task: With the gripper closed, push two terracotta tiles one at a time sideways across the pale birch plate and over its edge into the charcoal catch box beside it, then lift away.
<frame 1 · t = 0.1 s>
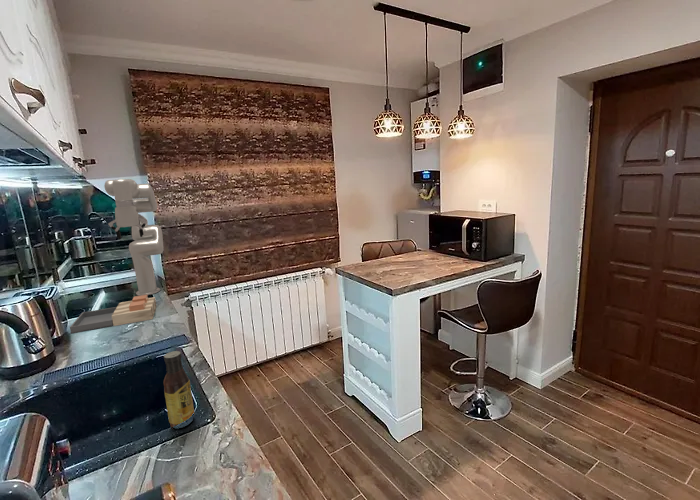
hand: (130, 237, 186), 37 cm above the worktop, tool pointing down, fingers open, 9 cm apart
tile a: (140, 302, 183), point 5 cm above the worktop, touching bench plate
catch box: (97, 322, 173), on the worktop
bench plate: (136, 315, 179), on the worktop
sauce bottle: (183, 423, 97), on the worktop
tile b: (137, 308, 174), point 5 cm above the worktop, touching bench plate
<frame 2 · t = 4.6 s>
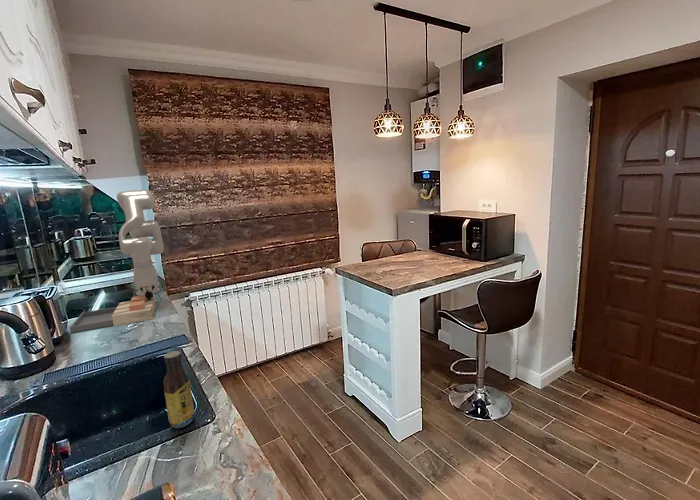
hand: (149, 299, 185), 6 cm above the worktop, tool pointing down, fingers closed
nothing on the worktop moved.
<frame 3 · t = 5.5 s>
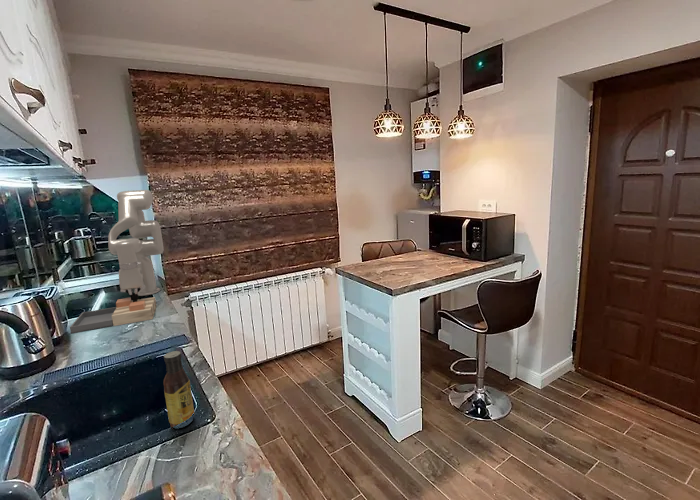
hand: (135, 301, 182), 6 cm above the worktop, tool pointing down, fingers closed
tile a: (124, 304, 180), point 5 cm above the worktop, touching bench plate, gripper
everything else where it was.
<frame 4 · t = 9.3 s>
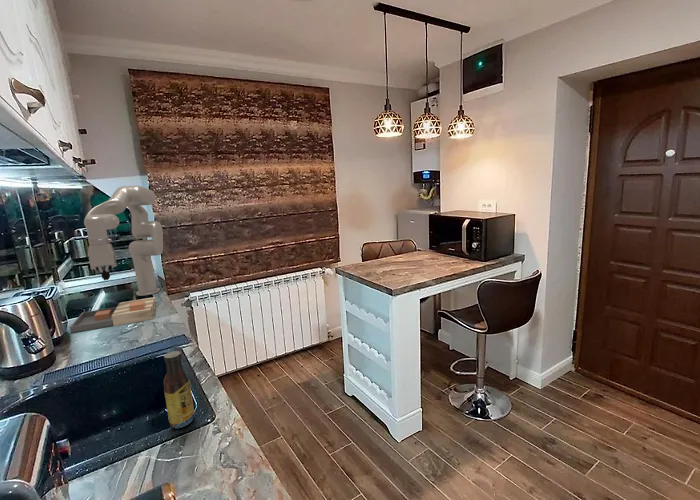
hand: (106, 279, 175), 19 cm above the worktop, tool pointing down, fingers closed
tile a: (102, 312, 177), point 3 cm above the worktop, tilted 180°, touching catch box
everything else where it was.
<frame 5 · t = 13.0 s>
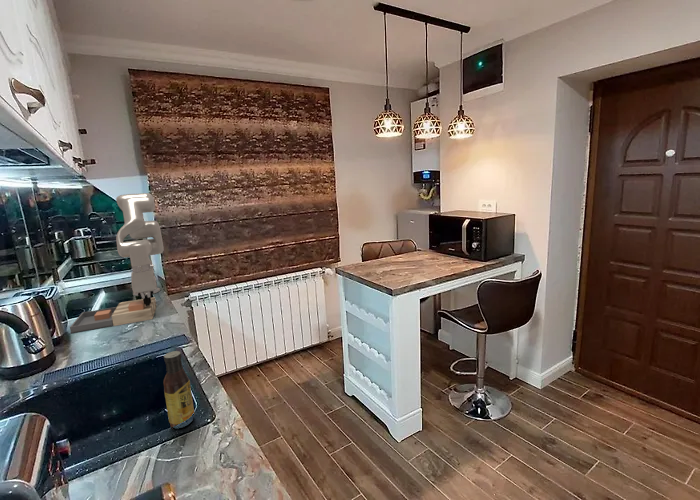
hand: (148, 305, 176), 6 cm above the worktop, tool pointing down, fingers closed
tile b: (137, 308, 174), point 5 cm above the worktop, touching gripper
everything else where it was.
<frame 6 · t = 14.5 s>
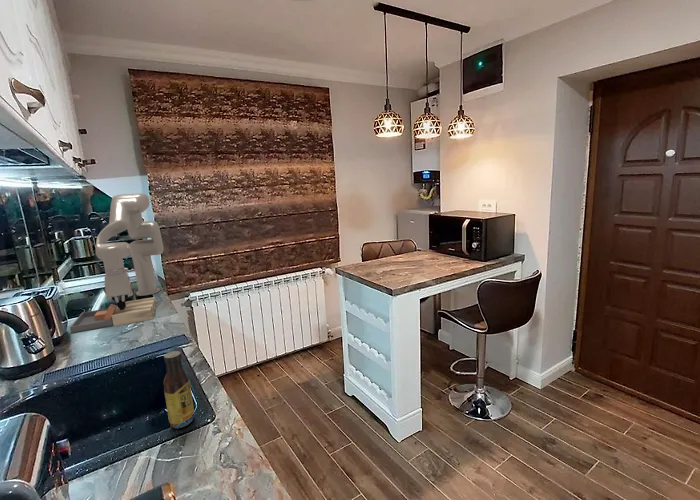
hand: (122, 309, 172), 6 cm above the worktop, tool pointing down, fingers closed
tile b: (113, 313, 170), point 5 cm above the worktop, tilted 62°
everything else where it was.
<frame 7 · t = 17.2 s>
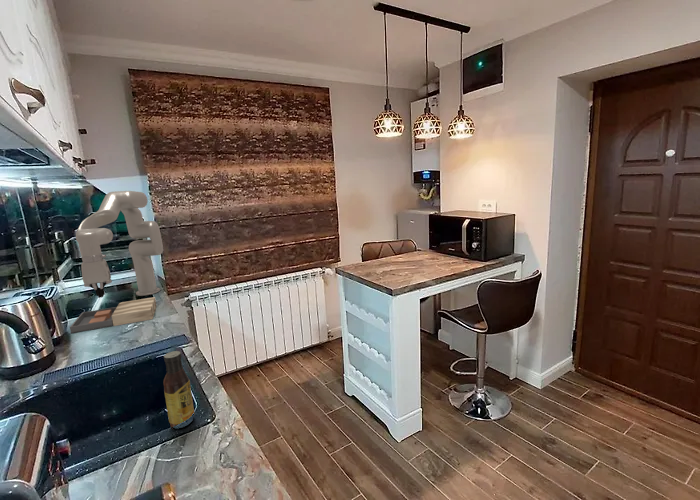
hand: (101, 296, 168), 13 cm above the worktop, tool pointing down, fingers closed
tile b: (97, 319, 168), point 3 cm above the worktop, tilted 180°, touching catch box
everything else where it was.
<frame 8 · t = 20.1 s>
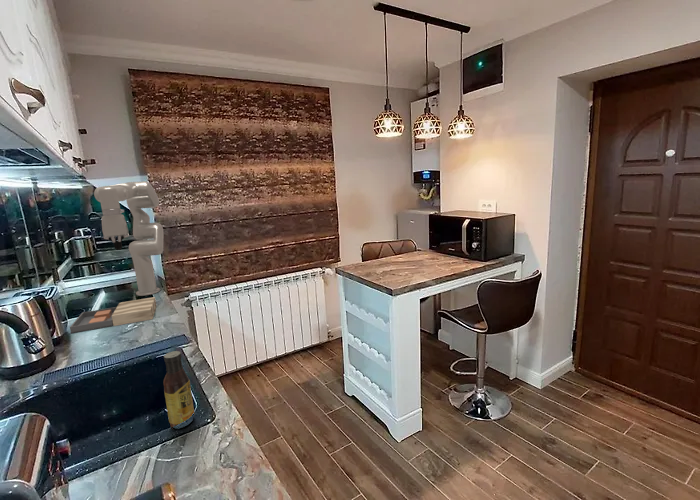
hand: (118, 249, 180), 32 cm above the worktop, tool pointing down, fingers closed
nothing on the worktop moved.
at the end: tile a inside the target area on the catch box (4.5 cm from its centre), point 3.0 cm above the catch box's base; tile b inside the target area on the catch box (6.0 cm from its centre), point 3.0 cm above the catch box's base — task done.
